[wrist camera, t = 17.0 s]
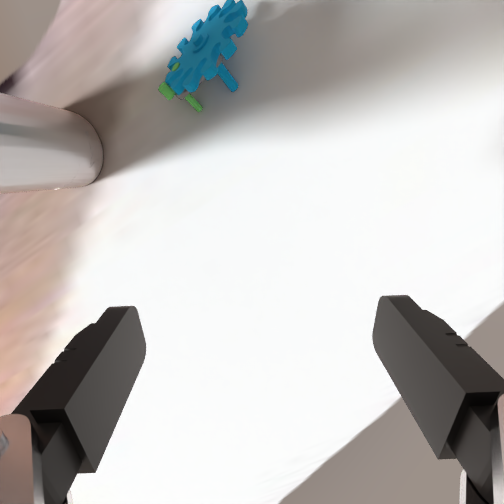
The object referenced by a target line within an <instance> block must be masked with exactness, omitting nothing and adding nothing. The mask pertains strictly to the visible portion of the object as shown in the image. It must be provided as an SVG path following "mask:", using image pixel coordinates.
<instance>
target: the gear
mask: <svg viewBox="0 0 504 504" xmlns="http://www.w3.org/2000/svg"><path fill="white" fill-rule="evenodd" d="M246 16H247V8H246V6H245V4H244V3H243V1H242V0H240V1H239V2H237V4H236V3H235V1H234V0H227V1H226V2H225V4H224V6H223V7H222V9H221V8H220V6H219V5H215V6H213V7H212V8H211V9H210V11H209V13H208V17H207V19H206V21H205V23H203V21H202V20H201V19H199V20H198V21H197V22H196V23H195V24H194V25H193V26H192V30H193V34H192V37H191V40H190V41H188V40H187V39H186V38H183V39H182V41H181V42H180V43H179V44H178V46H177V48H178V49H179V51H180V52H181V53H182V55H181V57H180V58H179V59H177V58H176V56H174V57H172V59H171V60H170V62H169V64H168V66H167V67H168V68H169V69H170V70H171V71H170V72H169V73H168V74H167V76H166V80H165V82H166V83H167V84H168V85H169V86H170V87H171V88H170V87H169V86H168V85H167V84H166V83H165V82H163V83H162V84H161V85H160V86H159V88H158V90H159V91H160V92H161V93H162V94H163V95H164V96H165V97H166V98H167V99H168V100H171V99H172V98H173V97H174V95H176V96H177V97H178V98H179V99H180V100H182V99H184V98H185V99H186V100H187V101H188V102H189V103H190V104H191V105H192V106H193V107H194V108H195V109H196V110H197V111H198V112H200V111H201V110H202V106H201V105H200V104H199V103H198V102H197V101H196V100H195V99H194V98H193V97H192V95H191V94H190V93H191V92H195V91H196V90H197V88H198V86H199V84H200V83H201V82H202V81H203V80H204V79H207V81H208V80H210V79H212V78H213V77H214V76H216V75H217V74H218V75H219V76H220V78H221V79H222V80H223V81H224V83H225V84H226V85H227V87H228V88H229V89H230V90H231V92H234V91H235V90H236V89H237V88H238V83H237V82H236V81H235V79H234V78H233V77H232V75H231V74H230V73H229V71H228V70H227V69H226V67H225V66H224V65H223V63H222V57H221V55H220V54H222V55H223V56H224V58H225V59H226V60H228V59H229V58H230V57H231V56H232V55H233V54H234V53H235V51H236V50H237V47H236V45H235V44H234V42H233V41H232V39H231V38H230V37H231V36H232V35H233V34H236V36H237V37H241V36H242V35H243V34H244V33H245V31H246V29H247V27H248V23H247V21H246V20H245V17H246Z"/></svg>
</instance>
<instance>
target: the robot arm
mask: <svg viewBox="0 0 504 504" xmlns="http://www.w3.org/2000/svg"><path fill="white" fill-rule="evenodd" d="M102 163H103V149H102V145H101V141H100V139H99V137H98V134H97V133H96V131H95V130H94V128H93V126H92V125H91V124H90V123H89V122H88V121H87V120H86V119H84V118H83V117H82V116H80V115H79V114H76V113H74V112H72V111H68V110H64V109H60V108H56V107H52V106H48V105H45V104H41V103H37V102H34V101H30V100H26V99H22V98H18V97H14V96H10V95H6V94H2V93H0V194H5V193H17V192H28V191H40V190H51V189H64V188H76V187H82V186H86V185H88V184H90V183H91V182H93V181H94V180H95V179H96V178H97V176H98V174H99V173H100V170H101V167H102ZM373 344H374V348H375V351H376V353H377V355H378V356H379V358H380V360H381V361H382V363H383V365H384V367H385V368H386V370H387V372H388V374H389V375H390V377H391V379H392V380H393V382H394V384H395V386H396V387H397V389H398V391H399V393H400V394H401V396H402V398H403V400H404V401H405V403H406V405H407V406H408V408H409V410H410V412H411V413H412V415H413V417H414V419H415V420H416V422H417V424H418V426H419V427H420V429H421V431H422V432H423V434H424V436H425V438H426V439H427V441H428V443H429V445H430V446H431V448H432V449H433V452H434V453H435V455H436V457H437V458H438V459H456V458H457V459H458V461H459V462H460V464H461V466H462V467H463V472H462V473H461V478H460V504H504V379H503V378H502V377H501V376H500V375H499V374H498V373H497V372H496V371H495V370H494V369H493V368H492V367H491V366H490V365H489V364H487V362H486V361H485V360H484V359H483V358H481V356H480V355H478V354H477V353H476V352H475V351H474V350H473V349H472V348H471V347H468V345H467V343H466V342H465V341H464V340H463V339H462V338H461V337H460V336H457V334H456V332H455V331H454V330H453V329H452V328H451V327H450V326H449V325H448V324H447V323H446V322H445V321H444V320H442V319H441V318H439V317H437V316H436V315H434V314H432V313H431V312H429V311H427V310H422V309H421V308H420V307H419V306H418V305H417V304H416V303H415V302H414V301H413V300H412V299H411V298H410V297H409V296H408V295H393V296H382V297H380V299H379V302H378V307H377V312H376V318H375V323H374V328H373ZM145 354H146V342H145V338H144V334H143V330H142V326H141V323H140V319H139V315H138V311H137V309H136V307H135V306H120V307H109V308H107V309H106V310H105V312H104V313H103V314H102V316H101V317H100V318H99V320H98V321H97V322H96V323H91V324H90V325H89V326H87V327H86V328H85V329H83V330H82V331H80V332H79V333H78V334H76V335H75V336H74V338H73V339H72V340H71V341H70V342H69V344H68V345H67V346H66V347H65V349H64V352H61V353H60V355H59V356H58V357H57V358H56V360H55V363H54V364H51V366H50V367H49V368H48V369H47V371H46V372H45V373H44V374H43V375H42V377H41V378H40V379H39V380H38V382H37V383H36V384H35V385H34V386H33V388H32V389H31V390H30V391H29V393H28V394H27V395H26V396H25V397H24V399H23V400H22V401H21V402H20V404H19V405H18V406H17V407H16V408H15V410H14V411H13V412H12V413H11V414H9V415H4V416H1V417H0V504H73V499H72V494H71V491H70V487H71V485H72V483H73V481H74V479H75V477H76V475H77V474H78V473H95V472H96V470H97V468H98V466H99V463H100V461H101V459H102V456H103V454H104V452H105V450H106V447H107V445H108V443H109V440H110V438H111V436H112V433H113V431H114V429H115V427H116V424H117V422H118V420H119V417H120V415H121V413H122V410H123V408H124V406H125V404H126V401H127V399H128V397H129V394H130V392H131V390H132V387H133V385H134V383H135V381H136V378H137V376H138V374H139V371H140V369H141V367H142V364H143V362H144V359H145Z"/></svg>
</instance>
